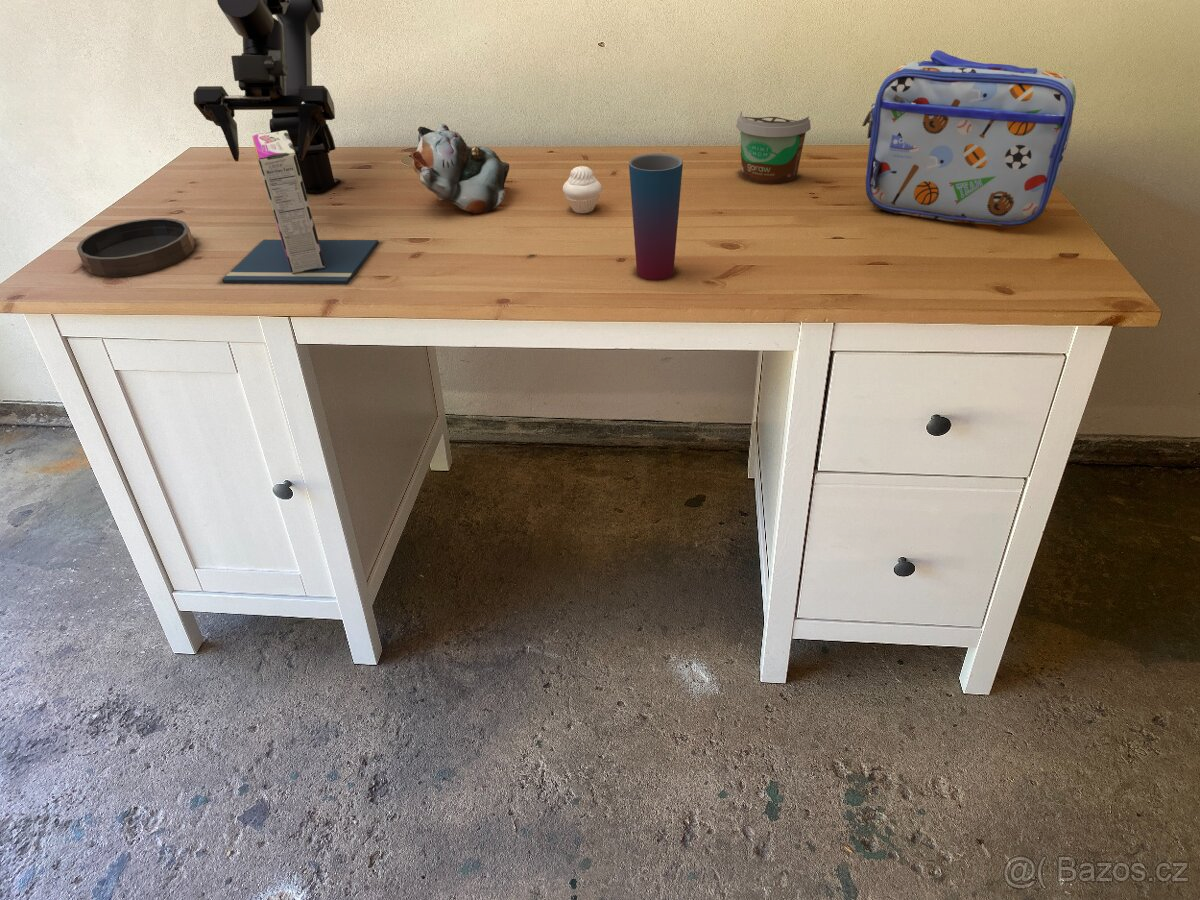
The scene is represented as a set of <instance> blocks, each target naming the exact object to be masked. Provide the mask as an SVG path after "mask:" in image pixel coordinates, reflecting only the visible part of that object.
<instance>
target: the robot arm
mask: <svg viewBox="0 0 1200 900" xmlns="http://www.w3.org/2000/svg"><path fill="white" fill-rule="evenodd" d="M216 1H217V5H218V6H219V8H220V10H221V12H222V13H223V15H224V16H225V17H226V19H227V21H228V22H229V24H230V25H231V26H232V28H233V30H234V31H235V32H236V34H237V35H238V36H240V37H242V53H240V54H235V55H231V56H230V57H231V64H232V72H233V79H234V82H238V88H239V89H240V91H244V95H229V93H228V92H227V90H226V89H225V88H224V86H223V85H222V86H221V85H210V86H209V85H208V86H207V85H203V86H202V85H201V86H200V85H199V86H197V87H196V89H194V91H193V104H194V106H195V107H196V109H198V111H199V112H200V114H201V115H202V116H203V118H205V120H207V121H209V122H213V124H214V125H215V126H216V127H220V129H221V131H222V133H223V135H224V138H225V140H226V144H227V146H228V148H229V151H230V153H231V156H232V158H233V160H234V161H235V162H239V160H240V146H239V145H240V144H239V134H238V124H237V121H236V120H235V119H234V118H235V111H268V110H269V111H270V110H271V118H270V119H269V130H270V131H269V132H277V131H286V130H287V132H288V134H289V136H290V139H291V142H292V145H293V148H294V151H295V154H296V158H297V161H298V165H299V169H300V172H301V176H302V180H303V184H304V187H305V191H306V193H308V194H309V193H310V194H322V193H324V192H325V191H327V190H328V189H330V188H332V187H334V186H337V184H340V182H341V178H336V177H334V174H333V168H332V165H331V161H330V156H329V154H330V153H331V152H332V151H335V150H336V144H335V139H334V137H333V133H332V132H331V129H330V127H329V124H328V123H327V121H333V120H334V119H336V111H335V104H334V100H333V98H332V96H331V93H330V91H329V90H328V88H327V87H326V85H325V86H324V85H313V69H312V68H313V65H312V37H313V35H314V34H315V33H316V32H317V31H318V30H319V29H320V27H321V22H322V13H324V2H323V0H216ZM274 16H275V17H276V18H275V17H274Z"/></svg>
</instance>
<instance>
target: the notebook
mask: <svg viewBox="0 0 1200 900" xmlns="http://www.w3.org/2000/svg"><path fill="white" fill-rule="evenodd" d="M318 240H319V244H320V248H321V252H322V256H323V260H324V264H325V268H322V269H317V270H312V271H307V272H303V273H297V274H292V272H291V269H290V266H289V263H288V260H287V257H286V254H285V251H284V248H283V244H282V241H281V239H263V240H262V241H261V242H259V243H258V244H257V245H256V246H255V247H254V248H253V249H252V250H251V251H250V252H249V253H248V254H247V255H246V256H245V257H244V258H243V259H242V260H241V261H240V262H239V263H238V264H236V265H235V266H234V267H233V269H232V270H230V271H229V272H227V274H226V275H225V276H224V277H223V278H222V279H221V281H222V283H224V284H226V283H227V284H317V285H318V284H324V285H325V284H327V285H329V284H330V285H331V284H332V285H333V284H335V285H339V284H340V285H347V284H349V282H350V281H351V280H352V278H353V277H354V276H355V274H356V273H357V271H358V270H359V269H360V268H361V267H362V265H363V264H364V262H366V260H367V259H368V257H369V256H370V255H371V253H372V252H373V251H374V250H375V248H376V247H377V246H378V245H379V240H378V239H318Z"/></svg>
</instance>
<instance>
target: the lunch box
mask: <svg viewBox="0 0 1200 900" xmlns="http://www.w3.org/2000/svg"><path fill="white" fill-rule="evenodd" d="M929 58H930V60H922V61H911V62H907V63H904V64H902V65H900V66H898V67H897V68H896V69H895V70H894V72H892V73H891V74H890V75H887V77H886V78H885V79H884V80H883V82H882V84H881V85H880V87H879V89H878V92H877V95H876V97H875V102H874V103H871V106H870V110H869V111H868V112H867V114H866V115H865V118H864V120H863V122H862V124H861V127H866V126H867V125H868V128H867V135H866V139H869V140H870V141H869V147H868V157H867V164H866V175H865V193H866V196H867V198H868V200H869V202H870V203H872V205H873V206H875V207H876V208H878V209H880V210H882V211H886V212H889V213H892V214H895V215H897V214H900V215H901V214H902V215H906V216H911V217H919V218H926V219H932V220H938V221H942V222H943V221H944V222H951V223H952V222H953V223H962V224H963V223H964V224H965V223H966V224H975V225H976V224H977V225H978V224H979V225H994V226H998V227H1003V226H1004V227H1016V226H1023V225H1026V224H1030V223H1031V222H1034V221H1035V220H1036V219H1038V218H1039V217H1040V216H1041V215H1042V214H1043V212H1044V210H1045V209H1046V206H1047V204H1048V202H1049V199H1050V197H1051V196H1052V193H1053V191H1054V188H1055V186H1056V184H1057V181H1058V178H1059V174H1060V171H1061V167H1062V164H1063V161H1064V157H1065V153H1066V150H1067V147H1068V143H1069V139H1070V135H1071V132H1072V131H1071V130H1072V123H1073V116H1074V115H1073V114H1074V109H1075V105H1076V101H1077V92H1076V91H1077V90H1076V87H1075V84H1074V82H1073V81H1072V80H1071V79H1070V78H1068V77H1066V76H1065V75H1063V74H1060V73H1057V72H1052V71H1049V70H1046V69H1045V70H1044V69H1038V68H1037V67H1034V68H1032V67H1031V68H1029V67H1023V66H1022V67H1021V66H1016V65H1013V64H1005V63H1004V64H1003V63H983V62H978V61H972V60H968V59H964V58H960V57H957V56H954V55H951V54H950V53H949V54H948V53H947V52H945V51H943V50H939V49H935V50H934V51H933V52H932V53H931V54H930V57H929Z"/></svg>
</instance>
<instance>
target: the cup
mask: <svg viewBox="0 0 1200 900" xmlns="http://www.w3.org/2000/svg"><path fill="white" fill-rule="evenodd" d="M683 167H684V161H683V159H682V158H681V157H680V156H677V155H675V154H671V153H670V154H669V153H664V152H663V153H662V152H652V153H651V152H650V153H643V154H639V155H636V156H633V157H632V158H630V159H629V160H628V172H629V185H630V186H629V187H630V199H631V212H632V224H633V239H634V252H635V253H634V254H635V267H636V274H637V275H638V277H640V278H641V279H644V280H648V281H660V280H661V281H662V280H665V279H668V278H670V277H672V276H673V275H674V272H675V259H676V248H677V236H678V223H679V212H680V202H681V201H680V200H681V189H682V180H683V179H682V177H683Z"/></svg>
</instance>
